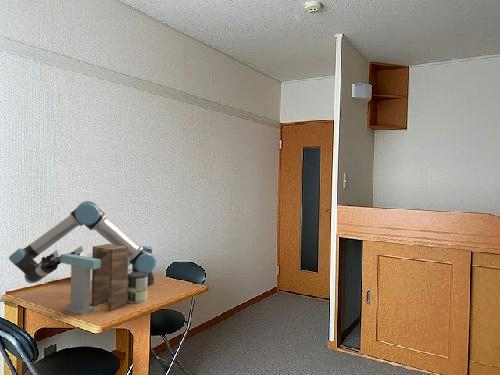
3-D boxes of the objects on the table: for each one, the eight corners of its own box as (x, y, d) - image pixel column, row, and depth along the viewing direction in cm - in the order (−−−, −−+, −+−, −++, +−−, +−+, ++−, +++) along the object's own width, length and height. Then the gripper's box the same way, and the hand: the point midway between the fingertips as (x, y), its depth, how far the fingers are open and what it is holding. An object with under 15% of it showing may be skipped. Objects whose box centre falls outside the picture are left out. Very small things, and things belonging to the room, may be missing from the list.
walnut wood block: (91, 305, 188) (92, 246, 187) (107, 300, 197) (108, 243, 196) (111, 311, 182) (112, 249, 181) (126, 305, 190) (128, 246, 190)
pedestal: (65, 309, 181) (66, 264, 181) (77, 305, 187) (78, 262, 187) (81, 314, 176) (82, 268, 175) (94, 310, 182) (95, 265, 181)
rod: (60, 262, 185) (60, 254, 185) (67, 261, 189) (67, 253, 189) (93, 269, 174) (93, 260, 174) (100, 267, 178) (100, 259, 177)
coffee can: (125, 303, 193) (125, 276, 193) (129, 297, 204) (130, 271, 203) (145, 303, 194) (146, 276, 194) (148, 297, 205) (149, 271, 204)
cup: (72, 281, 229) (72, 255, 229) (84, 276, 241) (85, 252, 240) (89, 283, 226) (89, 257, 226) (100, 278, 238) (101, 253, 238)
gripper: (70, 268, 203) (94, 252, 194) (25, 278, 181) (49, 261, 172) (66, 255, 204) (89, 239, 196) (20, 264, 182) (44, 246, 174)
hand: (71, 249), depth 184 cm, fingers open, 13 cm apart
